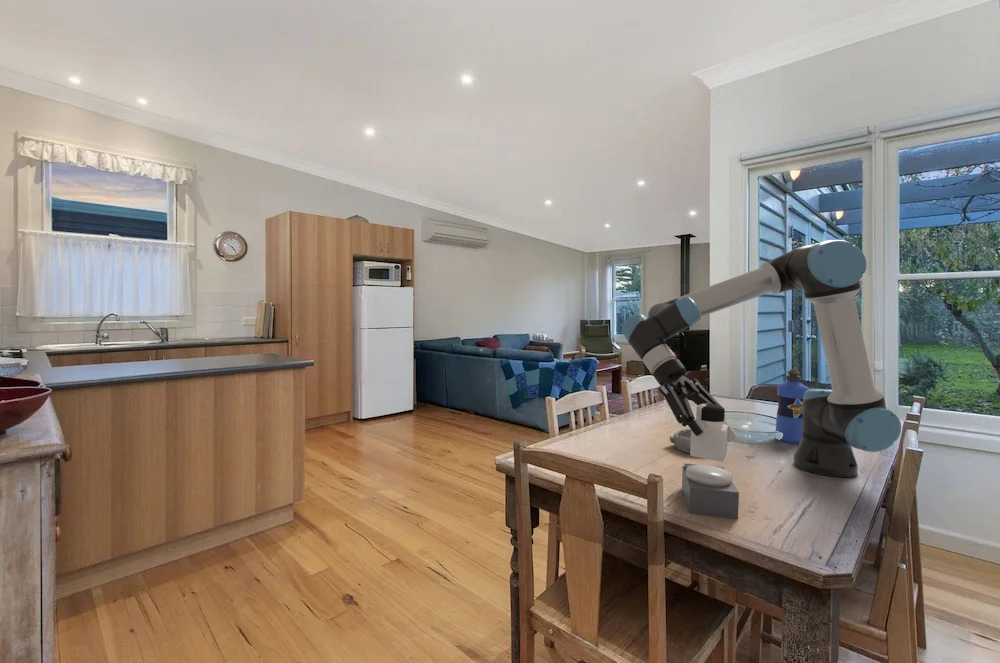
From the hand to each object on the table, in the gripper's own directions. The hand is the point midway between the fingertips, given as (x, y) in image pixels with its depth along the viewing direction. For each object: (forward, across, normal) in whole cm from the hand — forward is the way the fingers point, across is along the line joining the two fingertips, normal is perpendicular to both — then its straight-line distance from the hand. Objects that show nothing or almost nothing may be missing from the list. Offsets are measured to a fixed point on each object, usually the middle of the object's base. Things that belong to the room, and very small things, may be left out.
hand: (722, 442), depth 104 cm
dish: (-8, -35, -31) cm, 48 cm away
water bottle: (+1, -72, -21) cm, 75 cm away
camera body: (+9, 0, -13) cm, 16 cm away
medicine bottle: (+1, 0, -5) cm, 5 cm away
